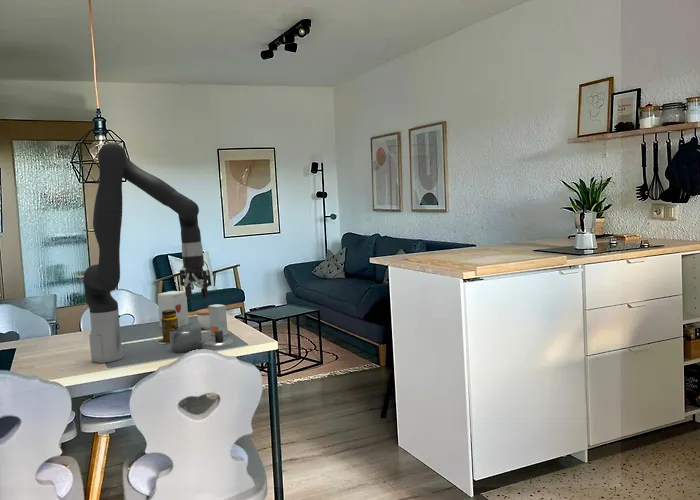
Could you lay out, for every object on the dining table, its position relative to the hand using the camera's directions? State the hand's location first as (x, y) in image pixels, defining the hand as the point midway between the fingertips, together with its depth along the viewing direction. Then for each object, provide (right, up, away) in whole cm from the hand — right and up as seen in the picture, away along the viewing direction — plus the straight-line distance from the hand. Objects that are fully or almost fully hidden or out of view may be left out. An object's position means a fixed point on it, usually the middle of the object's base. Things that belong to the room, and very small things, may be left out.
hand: (197, 297), depth 227 cm
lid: (+8, -18, +2) cm, 19 cm away
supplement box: (-20, -16, +41) cm, 48 cm away
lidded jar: (-2, -16, +31) cm, 35 cm away
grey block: (-2, -18, -5) cm, 19 cm away
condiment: (-13, -18, +10) cm, 25 cm away
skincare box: (+5, -16, +17) cm, 24 cm away
